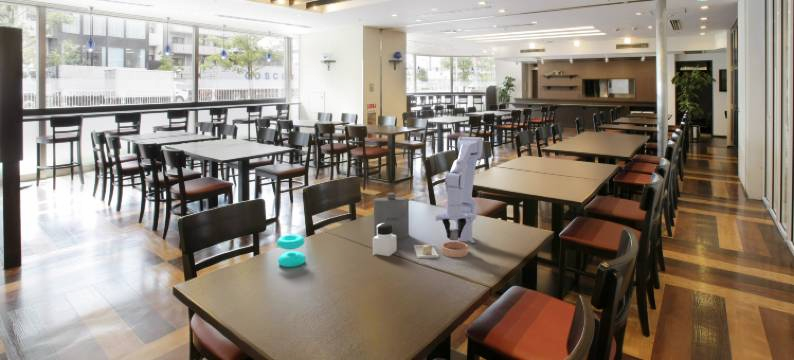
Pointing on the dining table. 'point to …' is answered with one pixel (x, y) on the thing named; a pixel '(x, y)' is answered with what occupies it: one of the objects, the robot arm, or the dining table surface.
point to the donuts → (291, 257)
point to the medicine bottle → (384, 240)
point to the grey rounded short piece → (453, 234)
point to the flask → (392, 214)
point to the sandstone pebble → (427, 249)
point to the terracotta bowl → (454, 253)
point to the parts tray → (419, 254)
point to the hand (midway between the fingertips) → (453, 237)
